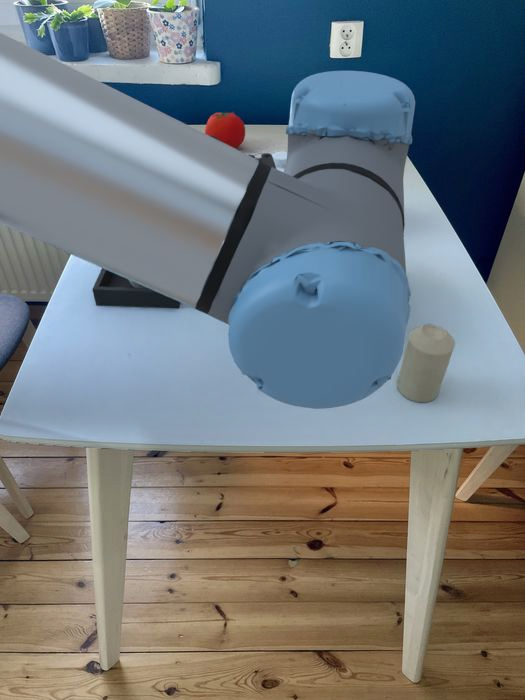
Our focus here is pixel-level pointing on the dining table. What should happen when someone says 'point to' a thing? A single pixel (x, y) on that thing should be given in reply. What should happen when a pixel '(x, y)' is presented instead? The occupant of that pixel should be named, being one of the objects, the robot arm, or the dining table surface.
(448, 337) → the candle
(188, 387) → the dining table surface
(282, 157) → the pill bottle
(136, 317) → the dining table surface
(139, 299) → the shallow square tray
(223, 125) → the tomato
